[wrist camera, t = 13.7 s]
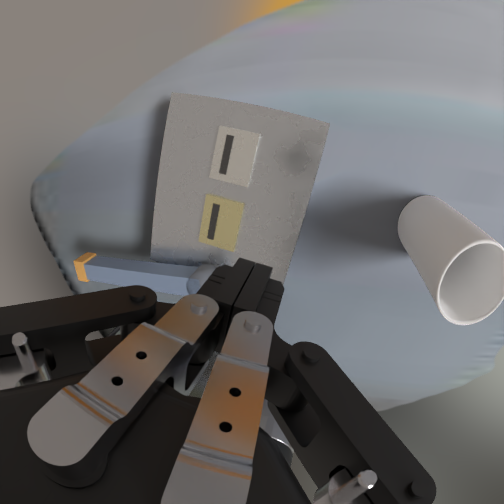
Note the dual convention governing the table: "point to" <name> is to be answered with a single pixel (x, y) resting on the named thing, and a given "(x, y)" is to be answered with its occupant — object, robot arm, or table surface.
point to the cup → (453, 259)
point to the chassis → (233, 183)
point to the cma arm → (143, 274)
